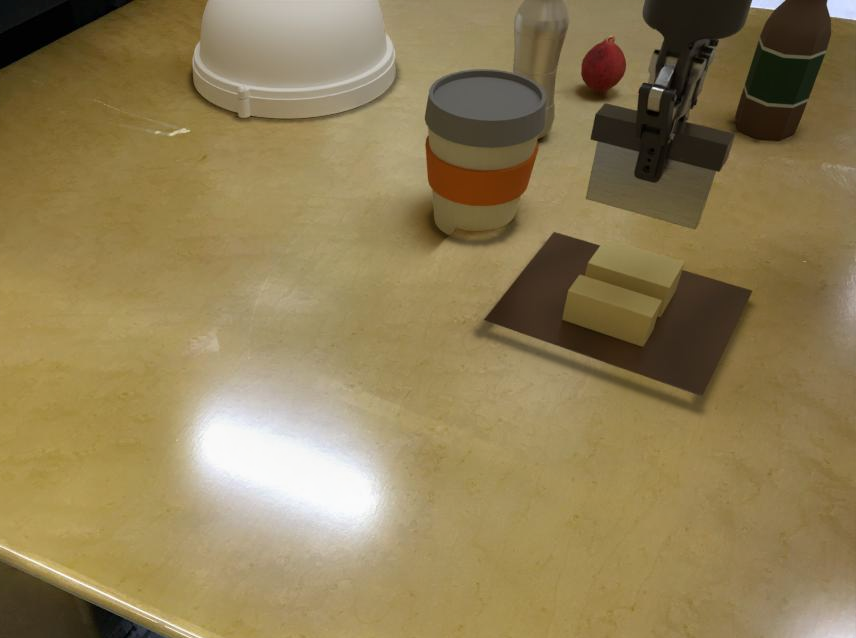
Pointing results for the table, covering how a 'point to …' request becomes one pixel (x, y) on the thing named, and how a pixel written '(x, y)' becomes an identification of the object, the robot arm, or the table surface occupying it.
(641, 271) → the butter block
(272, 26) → the dome cover
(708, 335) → the cutting board
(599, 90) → the pomegranate
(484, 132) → the reusable coffee cup
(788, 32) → the beer bottle
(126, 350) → the table surface
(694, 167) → the bench scraper
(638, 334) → the butter slice
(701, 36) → the robot arm
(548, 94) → the plastic bottle
